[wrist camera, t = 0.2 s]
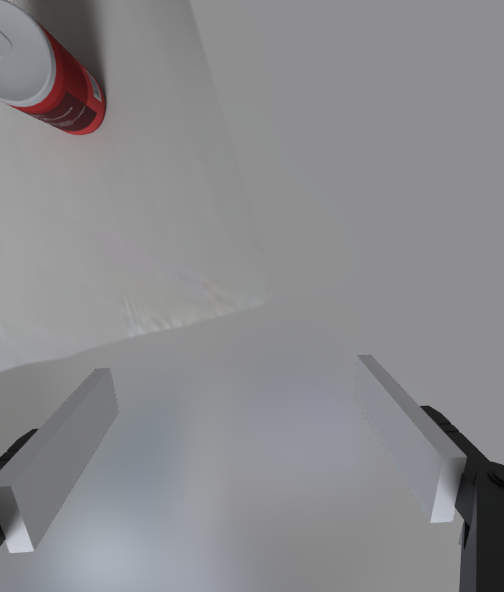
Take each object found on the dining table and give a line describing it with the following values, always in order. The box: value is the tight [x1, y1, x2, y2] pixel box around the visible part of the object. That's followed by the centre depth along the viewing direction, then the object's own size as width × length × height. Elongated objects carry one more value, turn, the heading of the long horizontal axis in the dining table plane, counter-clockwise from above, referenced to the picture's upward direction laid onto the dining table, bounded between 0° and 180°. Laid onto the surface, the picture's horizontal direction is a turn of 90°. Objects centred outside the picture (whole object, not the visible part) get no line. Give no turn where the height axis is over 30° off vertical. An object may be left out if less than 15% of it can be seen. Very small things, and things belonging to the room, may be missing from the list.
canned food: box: [0, 0, 105, 135], centre depth 29 cm, size 8×8×11 cm
